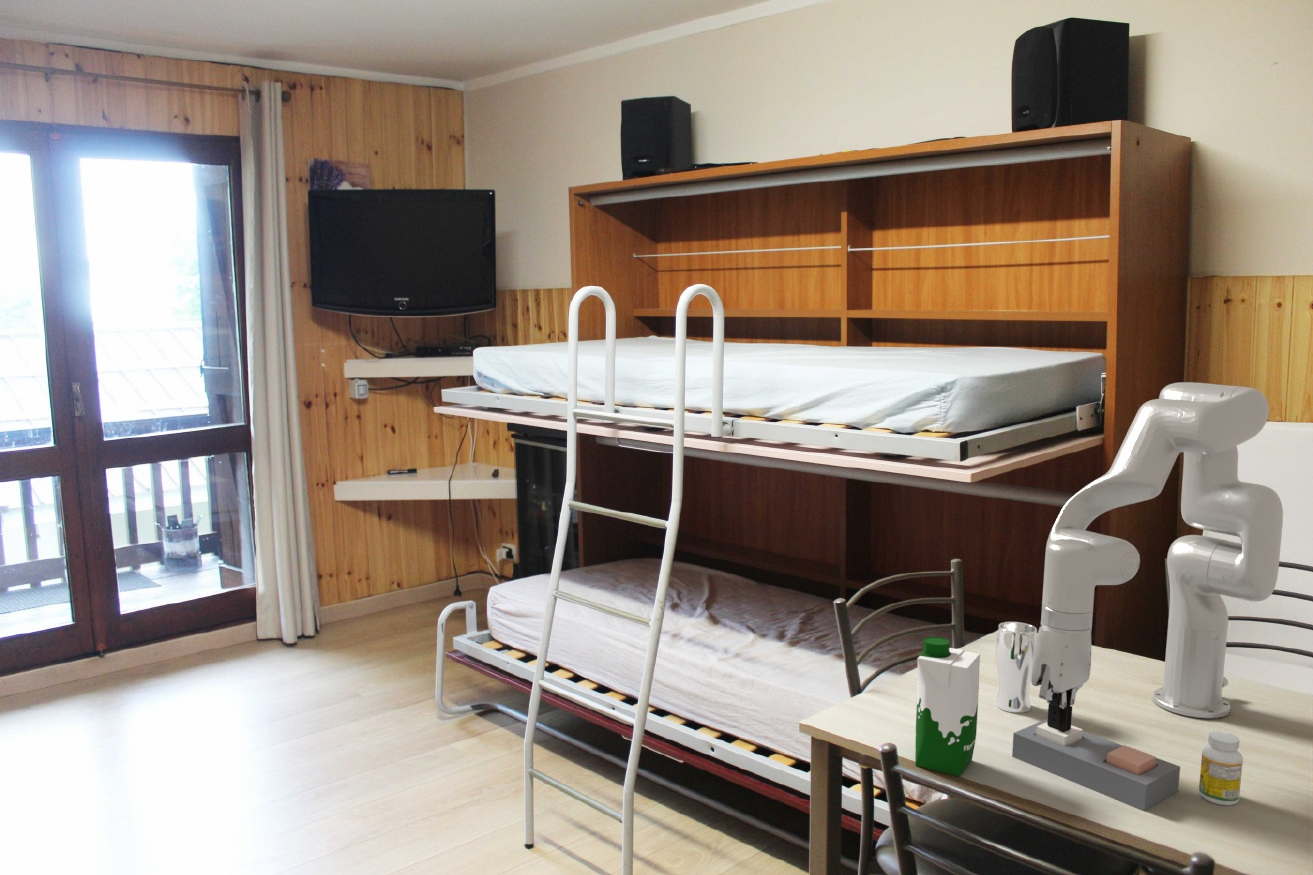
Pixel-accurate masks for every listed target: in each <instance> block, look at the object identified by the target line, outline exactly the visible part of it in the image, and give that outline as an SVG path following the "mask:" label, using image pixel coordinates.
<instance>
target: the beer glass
mask: <svg viewBox="0 0 1313 875" xmlns="http://www.w3.org/2000/svg"><path fill="white" fill-rule="evenodd" d="M997 630H998V631H997V636H996V637H997V638H996V644H995V656H996V658H995V659H996V667H997V674H998V676H997V677H998V691H997V696H996V699H995V706H996V707H997V708H998V709H1000V710H1002V711H1005V712H1008V713H1012V714H1023V713H1024V714H1025V713H1028V712H1029V711H1030V710H1032V709H1031V708H1032V706H1031V698H1030V688H1031V684H1032V683H1031V673H1032V664H1033V656H1034V649H1035V644H1036V639H1037V635H1038V629H1037V627H1036V626H1034V625H1032V624H1029V623H1025V622H1019V621H1004V622H1000V623H999V624H998V629H997Z"/></svg>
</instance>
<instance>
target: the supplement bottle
mask: <svg viewBox="0 0 1313 875" xmlns="http://www.w3.org/2000/svg"><path fill="white" fill-rule="evenodd" d="M1207 739H1208V740H1207V741H1208V744H1206V745H1205V746H1204V747H1203V748H1202V752H1201V760H1200V761H1201V765H1200V775H1199V785H1198V793H1199V795H1200V796H1201V797H1202V798H1203V799H1204V800H1206V801H1208V802H1210V803H1213V804H1216V805H1220V806H1234V805H1237V804H1238V803H1239V801H1240V795H1241V786H1242V785H1241V782H1242V772H1243V762H1244V759H1243V754H1241V752H1240V751H1239V749H1240V739H1239V737H1238V736H1236V735H1234V734H1232V733H1229V732H1225V731H1220V730H1219V731H1218V730H1217V731H1211V732H1209V733H1208V738H1207Z"/></svg>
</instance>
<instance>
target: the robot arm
mask: <svg viewBox="0 0 1313 875" xmlns="http://www.w3.org/2000/svg"><path fill="white" fill-rule="evenodd" d="M1269 413H1270V407H1269V402H1268V400H1267V397H1266V396H1265V394H1264V393H1263V392H1261V391H1260V390H1258V389H1256V388H1253V387H1247V386H1241V385H1238V386H1237V385H1226V384H1216V383H1215V384H1214V383H1205V382H1193V381H1192V382H1191V381H1190V382H1189V381H1187V382H1185V381H1184V382H1183V381H1181V382H1174V383H1169V384H1167V385H1165V386H1164V387H1163V389H1161V390H1160V393H1159V395H1158V398H1155V399H1151V400H1148V401H1146V402H1144V403H1143V404H1142V405H1141V406H1140V407H1139V408H1138V410H1137V412H1136V414H1135V416H1134V418H1133V421H1132V423H1131V425H1130V426H1129V428H1128V430H1127V433H1126V435H1125V437H1124V439H1123V441H1122V443H1121V445H1120V448H1119V449H1118V452H1117V454H1116V456H1115V458H1114V460H1113V462H1112V464H1111V467H1110V468H1109V470H1108V471H1107V472H1105V474H1103V475H1102V476H1100V477H1098V478H1096V479H1095V480H1093V481H1091V482H1090V483H1088V484H1086V485H1085V486H1084V487H1082V488H1081V489H1080V490H1078V491H1077V492H1076V493H1075V494H1073V496H1071V497H1070V498H1069V499H1068V500H1067V501H1066V502H1065V504H1064V505H1063V507H1062V508H1061V510H1060V512H1059V513H1058V515H1057V518H1056V520H1055V522H1054V524H1053V525H1052V528H1051V530H1050V532H1049V535H1048V538H1047V541H1046V546H1045V554H1044V555H1045V556H1044V557H1045V558H1044V570H1043V586H1042V587H1043V588H1042V601H1041V614H1040V615H1041V617H1040V618H1041V619H1040V626H1039V629H1038V630H1037V639H1036V644H1035V649H1034V656H1033V664H1032V673H1031V683H1030V684H1031V685H1032V686H1034V687H1039V686H1040V690H1039V694H1038V697H1039V698H1040V699H1041V700H1045V701H1046V704H1048V706H1047V707H1048V710H1047V711H1048V712H1047V719H1048V721H1047V725H1048V726H1049V727H1051V728H1054V729H1057V730H1059V731H1062V732H1065V731H1067V730H1070V729H1071V725H1072V718H1073V717H1072V716H1073V706H1074V705H1075V703H1076V695H1077V692H1078V691H1079V690H1080V689H1081V688H1082V687H1083V686H1084V684H1085V683H1087V682H1088V681H1089V678H1090V675H1091V665H1092V627H1093V613H1094V600H1095V587H1096V586H1118V585H1122V584H1125V583H1127V582H1129V581H1131V579H1133V578H1134V576H1136V574H1137V572H1138V570H1139V568H1140V563H1141V558H1140V553H1139V551H1138V549H1137V548H1136V547H1135V546H1134V545H1133V543H1131V542H1129V541H1128V540H1125V539H1122V538H1119V537H1114V536H1111V535H1106V534H1102V533H1097V532H1093V531H1090V530H1087V528H1088V526H1090V524H1091V523H1092V522H1093V521H1094V520H1095V519H1096V518H1098V517H1099V516H1101V515H1102V514H1105V513H1106V512H1109V511H1112V510H1113V509H1116V508H1117V509H1118V508H1120V507H1125V506H1129V505H1133V504H1136V503H1140V502H1144V501H1149V500H1153V499H1154V498H1156V497H1158V496H1159V495H1160V494H1161V493H1162V491H1163V489H1164V486H1165V484H1166V482H1167V480H1168V478H1169V476H1170V474H1171V472H1172V469H1173V467H1174V465H1175V463H1176V460H1177V458H1178V456H1179V455H1180V454H1181V453H1183V467H1182V468H1183V469H1182V485H1181V498H1180V499H1181V500H1180V512H1181V517H1182V519H1183V521H1184V522H1185V523H1186V524H1187V525H1188V526H1191V527H1193V528H1195V529H1200V530H1202V531H1203V530H1204V531H1207V532H1213V533H1217V534H1218V533H1219V534H1223V535H1227V536H1233V537H1238V538H1239V539H1240V542H1235V541H1230V540H1227V539H1223V538H1222V539H1221V538H1216V537H1213V536H1212V537H1211V536H1206V535H1199V534H1190V535H1183V536H1180V537H1178V538H1177V539H1175V540H1174V541H1173V542H1172V543H1171V544H1170V546H1169V548H1168V552H1167V558H1166V559H1167V560H1166V562H1167V563H1166V566H1167V573H1168V580H1169V609H1168V610H1169V612H1168V621H1167V622H1168V623H1167V635H1166V646H1165V647H1166V648H1165V657H1164V658H1165V660H1164V673H1163V683H1162V684H1163V686H1162V687H1160V688H1157V689H1155V690H1154V691H1153V694H1152V700H1153V702H1154V703H1155V704H1156V705H1157V706H1159V707H1161V708H1162V709H1164V710H1167V711H1169V712H1172V713H1175V714H1178V715H1181V716H1186V717H1190V718H1191V717H1192V718H1198V719H1219V717H1220V718H1223V717H1226V716H1228V715H1229V714H1230V713H1231V704H1230V703H1229V702H1228V700H1227V699H1225V698H1223V697H1222V695H1223V693H1222V692H1223V689H1224V688H1225V687H1227V686H1228V685H1229V680H1228V679H1227V678H1226V676H1224V672H1225V663H1226V662H1225V660H1226V652H1227V651H1226V650H1227V640H1228V638H1227V637H1228V628H1229V614H1228V610H1227V606H1226V604H1225V601H1224V599H1223V598H1222V596H1226V597H1231V598H1234V599H1238V600H1244V601H1248V602H1253V603H1254V602H1255V603H1257V602H1262V601H1265V600H1267V599H1268V598H1269V597H1270V596H1272V594H1273V592H1274V591H1275V588H1276V585H1277V582H1278V575H1279V568H1280V567H1279V565H1280V559H1281V558H1280V556H1281V545H1282V534H1283V522H1284V521H1283V520H1284V519H1283V518H1284V509H1283V504H1282V500H1281V497H1280V496H1279V494H1278V493H1277V492H1276V490H1274V489H1272V488H1271V487H1270V486H1266V485H1263V484H1257V483H1251V482H1246V481H1244V482H1243V481H1240V480H1239V476H1238V475H1239V474H1238V471H1239V470H1238V469H1239V466H1238V465H1239V451H1238V447H1237V446H1239V445H1241V444H1243V443H1245V442H1247V441H1249V440H1251V439H1253V438H1254V437H1256V436H1257V435H1258V434H1259V433H1261V431H1262V430H1263V428H1264V427H1265V426H1266V423H1267V421H1268V419H1269ZM1221 595H1222V596H1221ZM1229 712H1230V713H1229Z"/></svg>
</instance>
